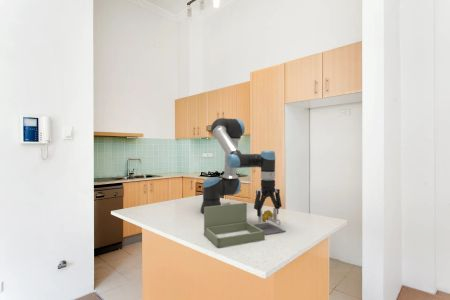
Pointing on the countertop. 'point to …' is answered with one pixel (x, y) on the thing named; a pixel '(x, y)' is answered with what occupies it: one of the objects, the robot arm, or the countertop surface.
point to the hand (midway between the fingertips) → (267, 221)
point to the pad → (269, 228)
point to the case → (229, 225)
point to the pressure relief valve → (269, 217)
